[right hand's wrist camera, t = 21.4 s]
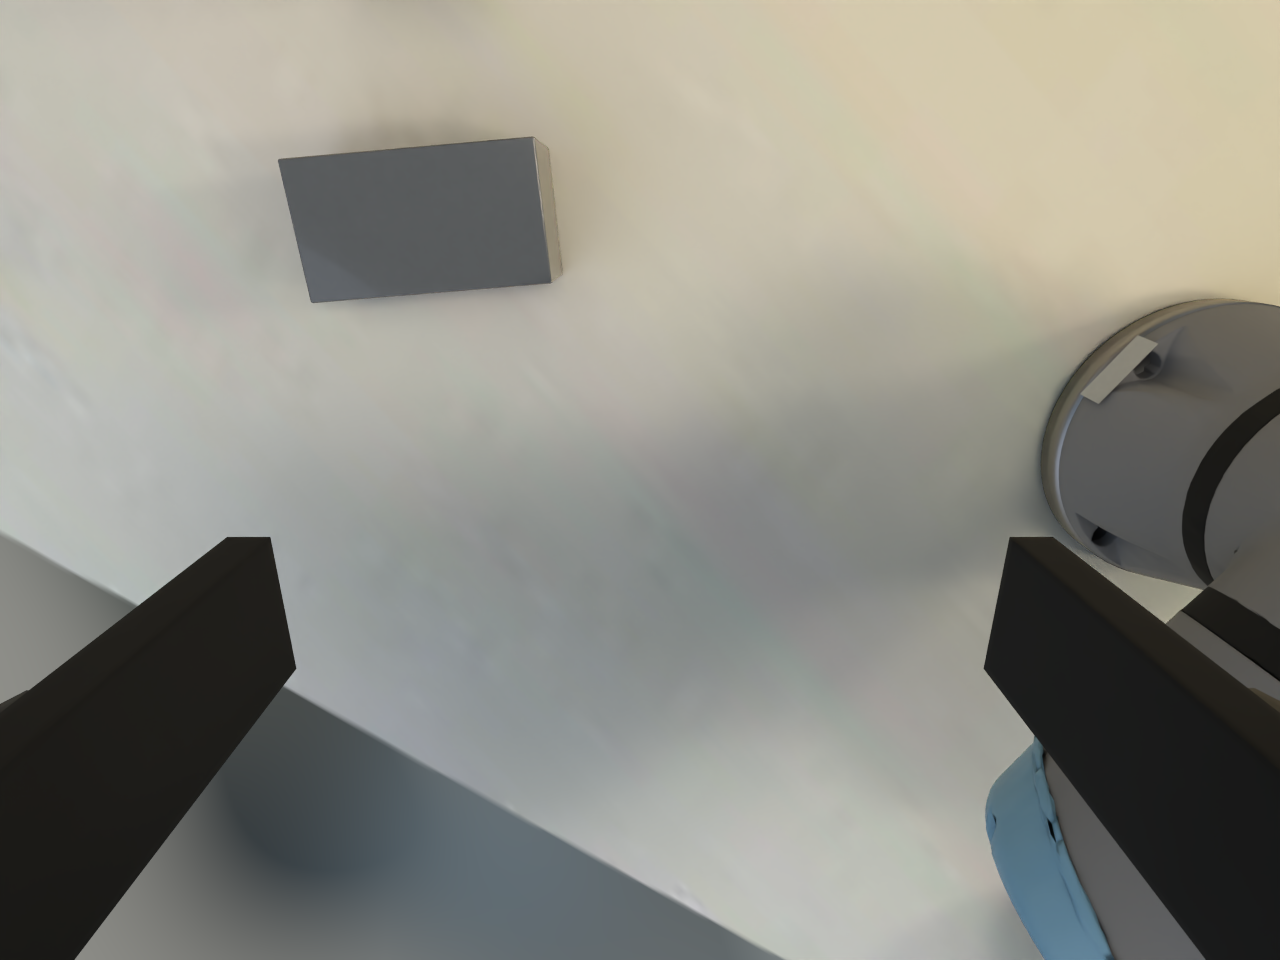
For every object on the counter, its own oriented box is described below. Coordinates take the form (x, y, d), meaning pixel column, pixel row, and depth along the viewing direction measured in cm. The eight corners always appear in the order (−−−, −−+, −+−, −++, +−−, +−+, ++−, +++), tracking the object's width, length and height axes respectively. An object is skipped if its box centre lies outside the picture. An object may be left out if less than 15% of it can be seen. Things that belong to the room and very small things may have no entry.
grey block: (548, 147, 35) (534, 136, 30) (562, 275, 37) (551, 283, 32) (325, 166, 35) (276, 158, 30) (352, 292, 37) (310, 303, 32)
